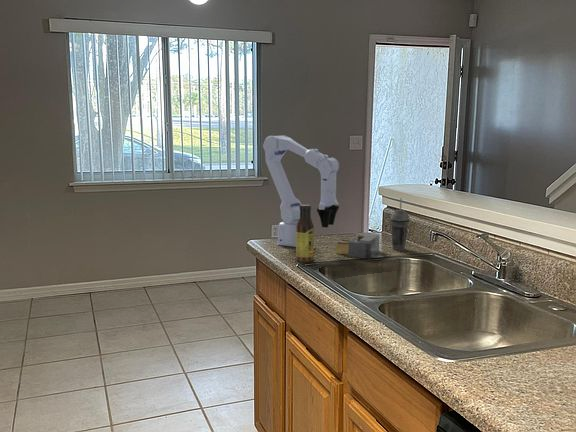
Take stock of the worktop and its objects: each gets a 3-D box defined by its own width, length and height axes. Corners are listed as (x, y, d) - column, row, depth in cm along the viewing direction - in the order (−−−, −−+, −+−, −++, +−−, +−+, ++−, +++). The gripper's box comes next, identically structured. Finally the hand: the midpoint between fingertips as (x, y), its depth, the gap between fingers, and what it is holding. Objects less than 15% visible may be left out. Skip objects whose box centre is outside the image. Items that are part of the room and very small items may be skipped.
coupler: (348, 256, 203) (348, 239, 202) (358, 249, 215) (359, 232, 214) (369, 258, 200) (370, 241, 199) (379, 251, 212) (379, 234, 211)
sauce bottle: (311, 263, 193) (312, 206, 190) (294, 262, 195) (294, 206, 191) (314, 258, 200) (315, 204, 196) (297, 258, 201) (298, 203, 198)
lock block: (336, 254, 208) (336, 242, 207) (342, 249, 215) (342, 238, 214) (349, 255, 206) (349, 244, 205) (355, 251, 213) (355, 240, 212)
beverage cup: (407, 247, 219) (409, 196, 215) (409, 251, 211) (411, 199, 208) (388, 246, 219) (390, 196, 216) (389, 251, 212) (391, 199, 209)
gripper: (331, 193, 202) (331, 230, 204) (344, 188, 215) (343, 223, 217) (313, 192, 204) (313, 228, 207) (327, 187, 217) (326, 222, 220)
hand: (327, 225), depth 212 cm, fingers open, 5 cm apart
